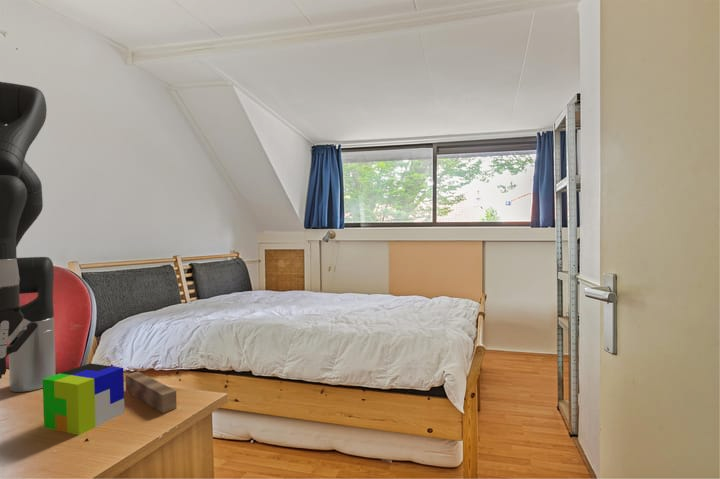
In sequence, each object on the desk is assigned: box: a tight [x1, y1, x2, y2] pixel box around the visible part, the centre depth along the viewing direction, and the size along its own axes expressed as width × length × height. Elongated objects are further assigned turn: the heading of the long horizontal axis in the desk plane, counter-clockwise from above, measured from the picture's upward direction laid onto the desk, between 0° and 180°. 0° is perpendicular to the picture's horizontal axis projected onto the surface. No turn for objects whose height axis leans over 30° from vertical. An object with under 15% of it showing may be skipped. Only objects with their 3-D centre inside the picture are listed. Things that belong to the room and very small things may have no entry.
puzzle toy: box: [42, 362, 125, 436], centre depth 84 cm, size 10×10×10 cm
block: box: [124, 371, 178, 414], centre depth 95 cm, size 20×3×4 cm, turn 51°
